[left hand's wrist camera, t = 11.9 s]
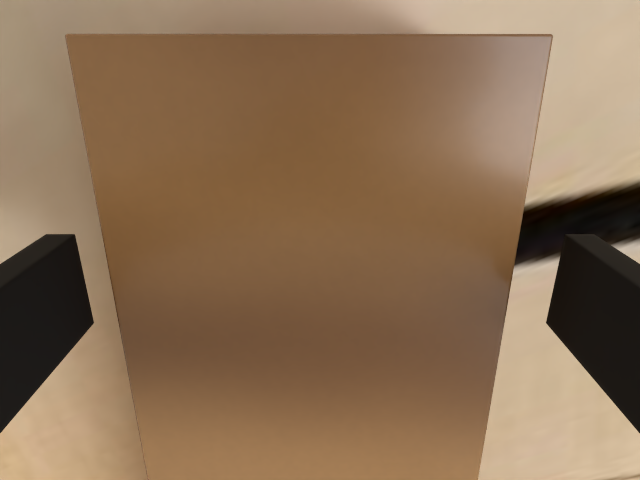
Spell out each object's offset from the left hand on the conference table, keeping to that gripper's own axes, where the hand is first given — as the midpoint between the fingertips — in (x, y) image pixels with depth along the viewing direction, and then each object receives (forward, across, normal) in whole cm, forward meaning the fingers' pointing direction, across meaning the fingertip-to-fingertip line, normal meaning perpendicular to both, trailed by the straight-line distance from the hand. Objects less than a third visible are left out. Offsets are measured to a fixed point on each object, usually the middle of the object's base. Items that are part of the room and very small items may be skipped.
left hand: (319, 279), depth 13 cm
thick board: (+5, 0, -28) cm, 28 cm away
